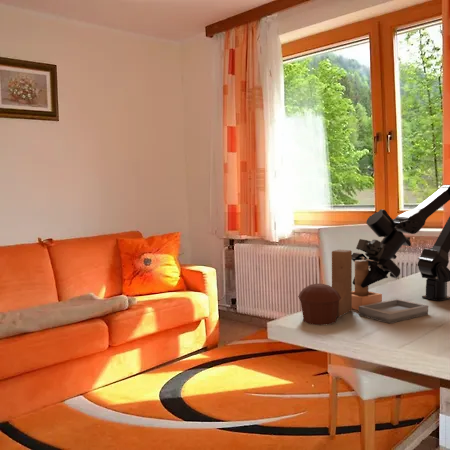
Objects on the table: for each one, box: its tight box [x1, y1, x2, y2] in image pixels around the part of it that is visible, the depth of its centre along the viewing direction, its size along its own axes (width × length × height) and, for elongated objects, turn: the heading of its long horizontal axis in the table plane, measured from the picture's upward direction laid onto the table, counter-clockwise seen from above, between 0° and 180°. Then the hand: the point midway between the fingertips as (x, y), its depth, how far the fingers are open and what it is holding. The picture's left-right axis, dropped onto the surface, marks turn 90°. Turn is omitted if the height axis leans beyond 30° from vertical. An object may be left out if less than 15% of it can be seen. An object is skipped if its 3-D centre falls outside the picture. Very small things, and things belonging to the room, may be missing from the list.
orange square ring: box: [352, 290, 383, 311], centre depth 155 cm, size 8×8×4 cm
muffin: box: [298, 283, 341, 326], centre depth 140 cm, size 12×11×10 cm
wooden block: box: [331, 249, 353, 318], centre depth 148 cm, size 9×4×18 cm, turn 143°
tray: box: [358, 298, 429, 324], centre depth 145 cm, size 16×11×2 cm
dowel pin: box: [354, 260, 369, 297], centre depth 155 cm, size 4×4×14 cm
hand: (357, 285), depth 155 cm, fingers closed on dowel pin, 4 cm apart
